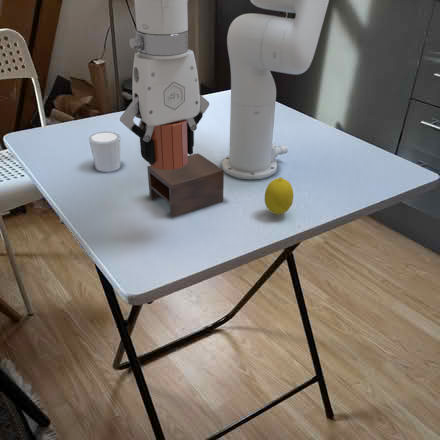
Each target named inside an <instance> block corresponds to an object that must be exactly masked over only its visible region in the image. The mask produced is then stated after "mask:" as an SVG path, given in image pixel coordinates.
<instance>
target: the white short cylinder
mask: <svg viewBox="0 0 440 440" xmlns="http://www.w3.org/2000/svg"><path fill="white" fill-rule="evenodd" d="M88 143H89V146H90V150H91V154H92V159H93V163H94V167H95V170H97V171H99V172H103V173H110V172H115V171H117V170H119V169H120V168H121V165H122V164H121V136H120V134H119V133H117V132H113V131H99V132H95V133H92V134H91V135H89V136H88Z"/></svg>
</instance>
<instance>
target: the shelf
mask: <svg viewBox="0 0 440 440" xmlns="http://www.w3.org/2000/svg"><path fill="white" fill-rule="evenodd" d="M146 169H147V181H148V193H149V199H151V200H156V199H158V198H162V199H163V200H164V201H166V202H167V203H168V204H169V214H170V217H171V218H177V217H180V216H182V215H185V214H189V213H192V212H195V211H199V210H201V209H205V208H208V207H212V206H213V205H216V204H220V203H223V202H224V183H225V182H224V181H225V176H224V175H225V171H224V170H223V168H221V167H220V166H218V165H216V164H215V163H214V162H212V161H210V160H209V159H208V158H206V157H205V156H203V155H202V154H201V153H199V152H196V153H193V154H191V155H189V154H188V163H187V164H186V165H185V166H184V167H182V168H178V169H175V170H174V169H173V170H161V169H157V168H154V167H152V166H151V165H147V166H146Z"/></svg>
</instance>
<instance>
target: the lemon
mask: <svg viewBox="0 0 440 440" xmlns="http://www.w3.org/2000/svg"><path fill="white" fill-rule="evenodd" d="M293 202H294V189H293V186H292V184H291V182H289V181H288V180H287V179H284V178H283V177H278V178H275V179H273V180H271V181H270V182H268V184H267V186H266V188H265V191H264V204H265V207H266V208H267V210H268V211H269V212H271V213H272V214H274V215H275V216H279V215H283V214H285V213H286V212H287V211H289V210H290V208H291V207H292V205H293Z"/></svg>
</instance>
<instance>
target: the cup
mask: <svg viewBox="0 0 440 440" xmlns="http://www.w3.org/2000/svg"><path fill="white" fill-rule="evenodd" d="M146 125H147V124H146ZM151 140H153V141H154V148H155V164H152V165H151V164H150V163H149V162H148V164H149V166H152V167H154V168H157V169H161V170H173V169H174V170H175V169H178V168H182V167H184V166H185V165H186V164H187V163H188V156H189V154H188V145H187V120H182V121H178V122H173V123H169V124H164V125H159V126H154V130H153V133H152V136H151Z"/></svg>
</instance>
